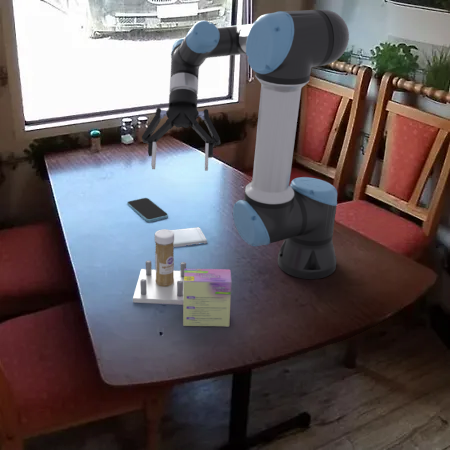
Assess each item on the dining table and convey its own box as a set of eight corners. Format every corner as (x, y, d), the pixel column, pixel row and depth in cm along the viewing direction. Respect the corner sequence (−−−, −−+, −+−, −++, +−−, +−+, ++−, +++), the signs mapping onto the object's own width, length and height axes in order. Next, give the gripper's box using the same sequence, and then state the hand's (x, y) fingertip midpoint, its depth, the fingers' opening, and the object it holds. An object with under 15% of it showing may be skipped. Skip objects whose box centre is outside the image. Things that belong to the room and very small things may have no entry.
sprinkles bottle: (167, 288, 154) (167, 239, 148) (151, 283, 156) (150, 234, 149) (177, 280, 157) (177, 231, 151) (162, 275, 159) (161, 226, 153)
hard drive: (162, 245, 173) (207, 239, 176) (156, 231, 180) (199, 226, 183) (162, 250, 174) (206, 244, 177) (156, 236, 181) (199, 231, 184)
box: (228, 312, 148) (230, 268, 143) (229, 327, 143) (231, 282, 138) (183, 311, 148) (183, 267, 142) (182, 326, 143) (183, 281, 137)
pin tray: (192, 275, 162) (193, 259, 160) (188, 304, 150) (188, 287, 148) (141, 273, 162) (140, 257, 160) (133, 302, 150) (132, 285, 148)
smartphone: (147, 197, 201) (169, 215, 190) (147, 200, 201) (169, 218, 190) (125, 201, 198) (147, 220, 186) (126, 205, 198) (147, 223, 187)
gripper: (230, 102, 175) (228, 174, 168) (138, 100, 175) (133, 172, 168) (230, 88, 168) (228, 163, 161) (134, 86, 168) (129, 160, 161)
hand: (179, 168), depth 165 cm, fingers open, 13 cm apart
